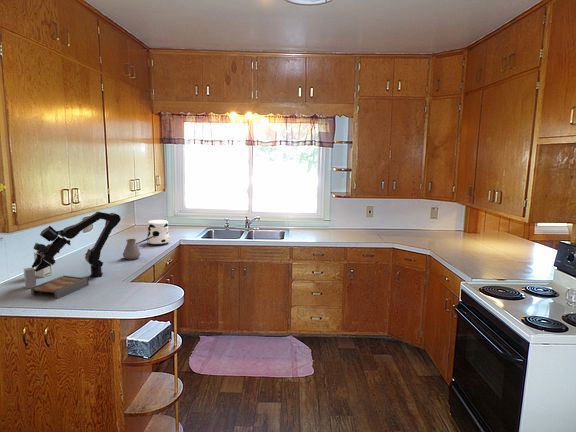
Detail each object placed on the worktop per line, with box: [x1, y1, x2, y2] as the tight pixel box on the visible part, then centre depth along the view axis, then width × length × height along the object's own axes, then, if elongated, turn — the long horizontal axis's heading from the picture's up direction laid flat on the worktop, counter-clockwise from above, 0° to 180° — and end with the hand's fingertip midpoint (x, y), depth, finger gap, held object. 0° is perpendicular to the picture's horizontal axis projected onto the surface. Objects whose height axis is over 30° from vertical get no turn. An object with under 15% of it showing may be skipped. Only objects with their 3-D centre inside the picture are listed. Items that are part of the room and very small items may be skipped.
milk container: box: [146, 219, 171, 246], centre depth 318 cm, size 17×17×18 cm
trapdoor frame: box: [30, 275, 90, 300], centre depth 211 cm, size 22×16×4 cm
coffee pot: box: [122, 236, 155, 260], centre depth 276 cm, size 21×12×15 cm, turn 108°
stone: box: [23, 266, 37, 290], centre depth 215 cm, size 4×4×10 cm
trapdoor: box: [34, 277, 82, 294], centre depth 210 cm, size 19×12×4 cm, turn 166°
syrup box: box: [33, 251, 52, 278], centre depth 234 cm, size 6×6×14 cm
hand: (33, 269), depth 215 cm, fingers open, 9 cm apart
